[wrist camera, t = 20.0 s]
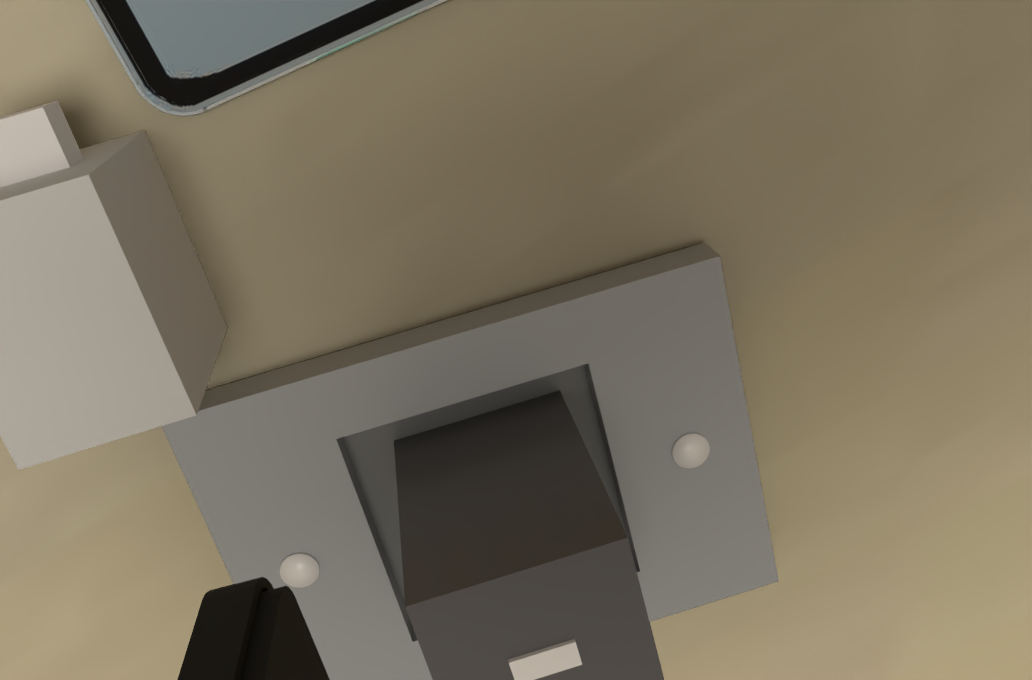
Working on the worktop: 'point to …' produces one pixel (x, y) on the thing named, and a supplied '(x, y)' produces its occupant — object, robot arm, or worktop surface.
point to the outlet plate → (473, 391)
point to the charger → (518, 552)
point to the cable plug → (94, 292)
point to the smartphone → (232, 42)
